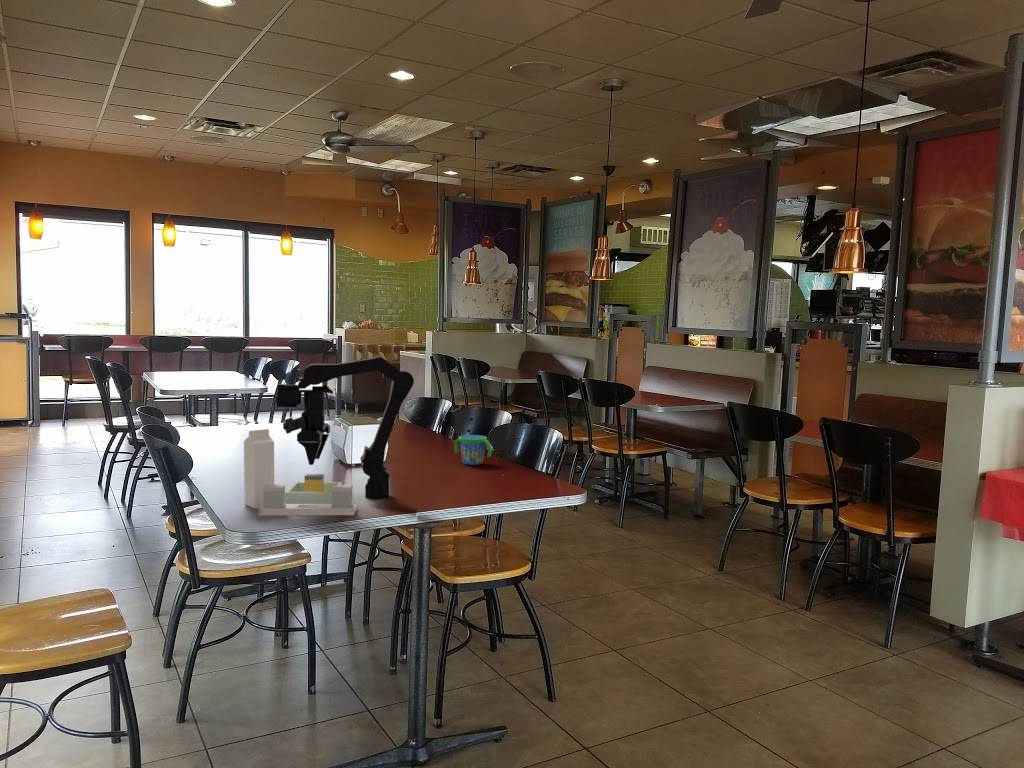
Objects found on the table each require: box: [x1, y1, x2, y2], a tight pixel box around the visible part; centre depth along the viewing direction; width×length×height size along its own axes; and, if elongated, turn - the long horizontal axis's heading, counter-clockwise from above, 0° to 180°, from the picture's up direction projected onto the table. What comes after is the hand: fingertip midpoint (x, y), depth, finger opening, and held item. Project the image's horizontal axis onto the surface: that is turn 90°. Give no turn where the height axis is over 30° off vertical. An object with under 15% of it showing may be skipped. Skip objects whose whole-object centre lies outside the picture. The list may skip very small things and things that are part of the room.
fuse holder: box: [257, 503, 358, 516], centre depth 204 cm, size 25×7×2 cm, turn 94°
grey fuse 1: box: [263, 484, 286, 508], centre depth 203 cm, size 5×3×7 cm, turn 94°
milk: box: [243, 428, 275, 509], centre depth 210 cm, size 6×6×22 cm
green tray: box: [285, 481, 343, 504], centre depth 218 cm, size 14×14×4 cm
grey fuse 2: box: [332, 484, 353, 508], centre depth 204 cm, size 5×3×7 cm, turn 94°
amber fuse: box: [304, 473, 325, 492], centre depth 218 cm, size 5×3×7 cm, turn 93°
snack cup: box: [453, 434, 493, 466], centre depth 282 cm, size 16×10×10 cm
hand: (314, 461), depth 218 cm, fingers open, 9 cm apart
